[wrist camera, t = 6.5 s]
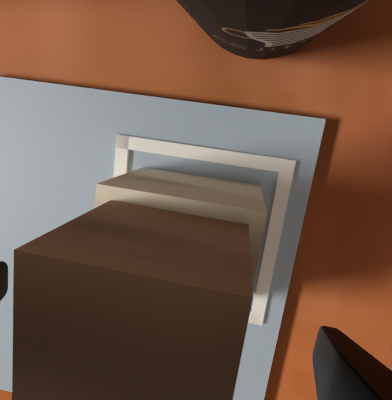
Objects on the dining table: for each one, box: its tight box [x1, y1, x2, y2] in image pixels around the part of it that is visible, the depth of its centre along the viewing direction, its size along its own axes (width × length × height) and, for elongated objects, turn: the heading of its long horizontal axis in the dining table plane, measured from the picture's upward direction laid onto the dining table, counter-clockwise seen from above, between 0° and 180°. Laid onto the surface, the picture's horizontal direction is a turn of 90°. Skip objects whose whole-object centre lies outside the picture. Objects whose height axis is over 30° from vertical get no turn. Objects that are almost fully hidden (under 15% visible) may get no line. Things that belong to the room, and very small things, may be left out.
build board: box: [0, 77, 326, 400], centre depth 17 cm, size 18×16×1 cm
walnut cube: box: [12, 200, 253, 400], centre depth 8 cm, size 4×4×4 cm
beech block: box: [95, 167, 267, 289], centre depth 13 cm, size 6×6×5 cm
